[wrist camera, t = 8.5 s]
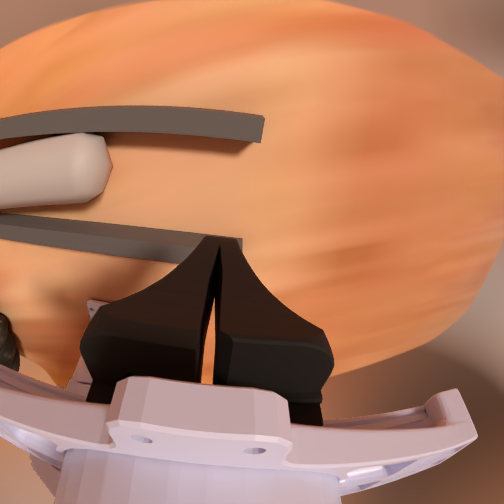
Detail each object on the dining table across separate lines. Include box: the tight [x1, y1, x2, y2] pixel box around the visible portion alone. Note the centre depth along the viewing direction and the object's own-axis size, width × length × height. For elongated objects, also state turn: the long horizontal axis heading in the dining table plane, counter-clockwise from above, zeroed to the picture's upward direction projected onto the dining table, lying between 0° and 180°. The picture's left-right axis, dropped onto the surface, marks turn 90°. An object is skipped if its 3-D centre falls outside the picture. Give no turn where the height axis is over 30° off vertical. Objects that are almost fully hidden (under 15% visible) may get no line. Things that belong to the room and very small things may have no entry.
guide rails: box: [0, 106, 265, 264], centre depth 17 cm, size 10×24×2 cm, turn 81°
